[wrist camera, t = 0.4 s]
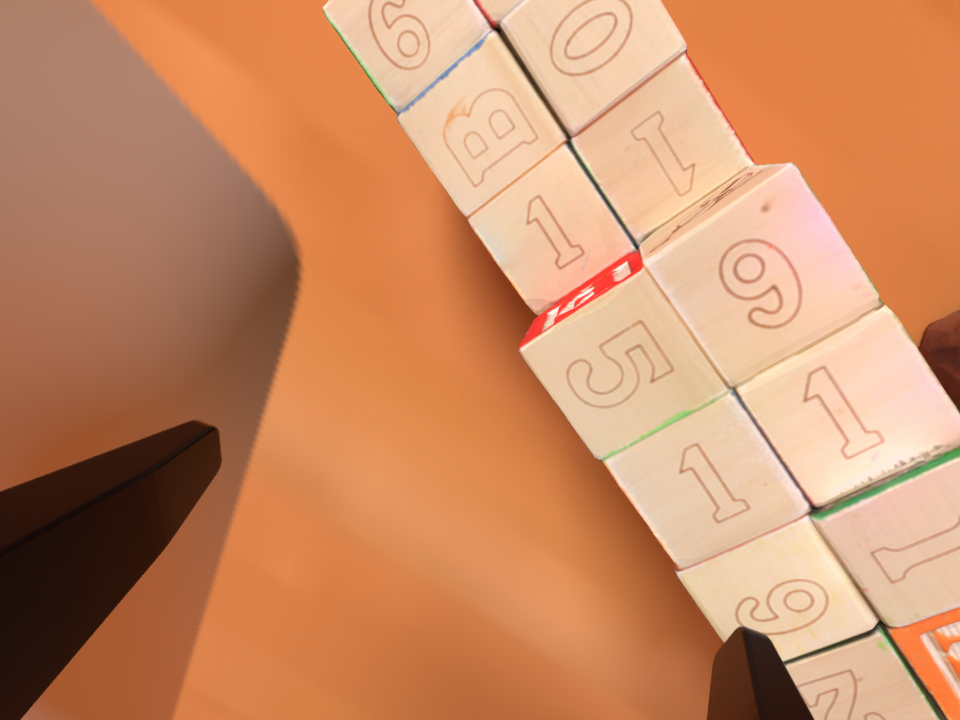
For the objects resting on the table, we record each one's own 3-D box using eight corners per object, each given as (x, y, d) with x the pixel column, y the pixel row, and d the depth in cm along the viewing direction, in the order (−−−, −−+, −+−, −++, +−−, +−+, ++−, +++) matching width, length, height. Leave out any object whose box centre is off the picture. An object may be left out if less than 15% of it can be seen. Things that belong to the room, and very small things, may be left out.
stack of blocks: (432, 73, 23) (236, -46, 11) (569, -48, 20) (502, -352, 9) (726, 511, 25) (816, 791, 13) (877, 442, 23) (1142, 706, 11)
